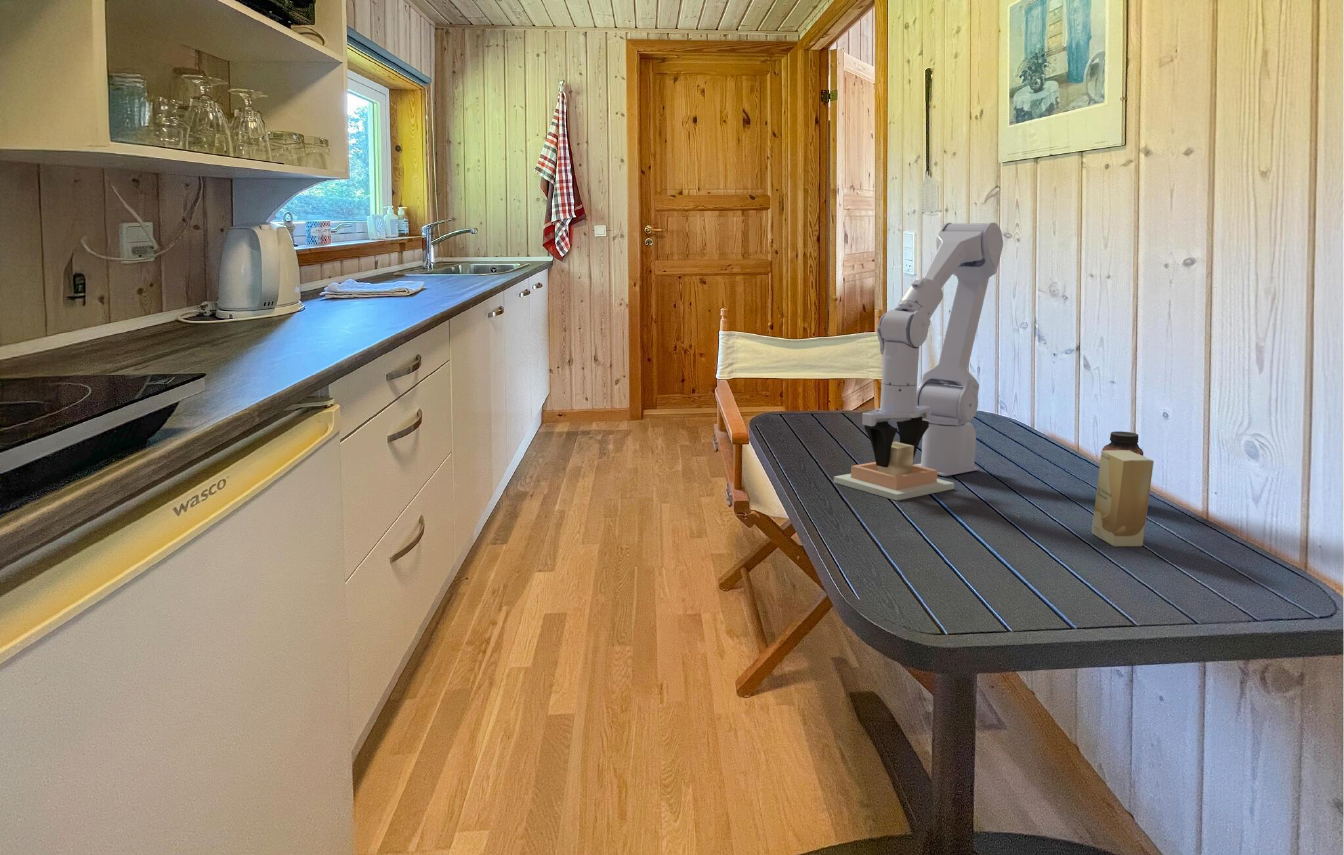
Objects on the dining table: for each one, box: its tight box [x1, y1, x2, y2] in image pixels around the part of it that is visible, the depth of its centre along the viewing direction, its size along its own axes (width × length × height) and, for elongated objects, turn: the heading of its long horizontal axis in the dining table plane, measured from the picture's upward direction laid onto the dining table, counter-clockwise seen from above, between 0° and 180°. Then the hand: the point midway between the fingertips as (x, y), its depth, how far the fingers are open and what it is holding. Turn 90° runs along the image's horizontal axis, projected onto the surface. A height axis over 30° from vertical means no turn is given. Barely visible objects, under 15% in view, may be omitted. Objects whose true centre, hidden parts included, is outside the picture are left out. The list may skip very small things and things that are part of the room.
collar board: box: [833, 461, 955, 501], centre depth 162 cm, size 14×14×3 cm
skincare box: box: [1091, 449, 1155, 547], centre depth 132 cm, size 6×4×12 cm
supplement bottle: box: [1102, 430, 1144, 456], centre depth 152 cm, size 6×6×11 cm
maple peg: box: [878, 441, 914, 476], centre depth 161 cm, size 4×4×6 cm
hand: (894, 464), depth 161 cm, fingers open, 5 cm apart
